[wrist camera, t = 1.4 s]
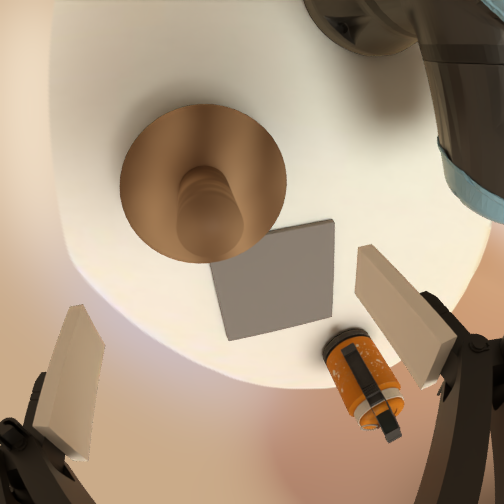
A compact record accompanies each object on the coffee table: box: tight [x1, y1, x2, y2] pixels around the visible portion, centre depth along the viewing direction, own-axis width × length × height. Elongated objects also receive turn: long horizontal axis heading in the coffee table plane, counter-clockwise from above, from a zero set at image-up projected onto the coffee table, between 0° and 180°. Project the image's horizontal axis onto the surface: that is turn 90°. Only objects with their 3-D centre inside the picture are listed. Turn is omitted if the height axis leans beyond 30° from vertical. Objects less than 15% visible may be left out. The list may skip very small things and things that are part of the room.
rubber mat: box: [210, 220, 335, 341], centre depth 42 cm, size 16×16×1 cm
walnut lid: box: [120, 104, 287, 263], centre depth 24 cm, size 15×15×9 cm
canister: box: [323, 329, 404, 443], centre depth 44 cm, size 9×11×20 cm
